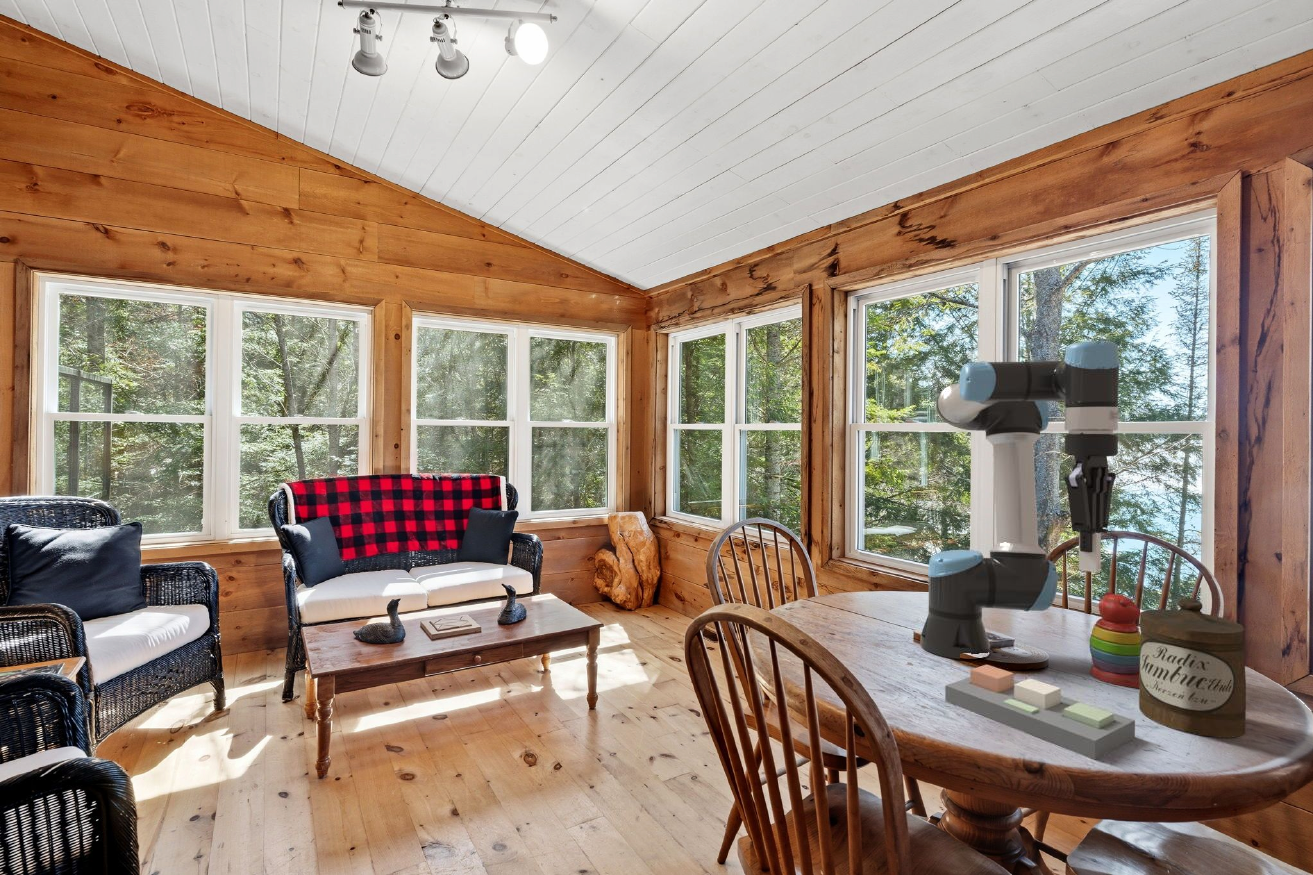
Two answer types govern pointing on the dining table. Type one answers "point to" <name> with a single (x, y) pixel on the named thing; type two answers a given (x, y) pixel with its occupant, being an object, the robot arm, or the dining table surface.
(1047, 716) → the console
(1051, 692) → the off-white key
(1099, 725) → the sage green key
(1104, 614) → the stacking bear
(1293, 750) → the dining table surface
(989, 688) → the terracotta key
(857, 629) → the dining table surface
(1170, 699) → the wooden container
